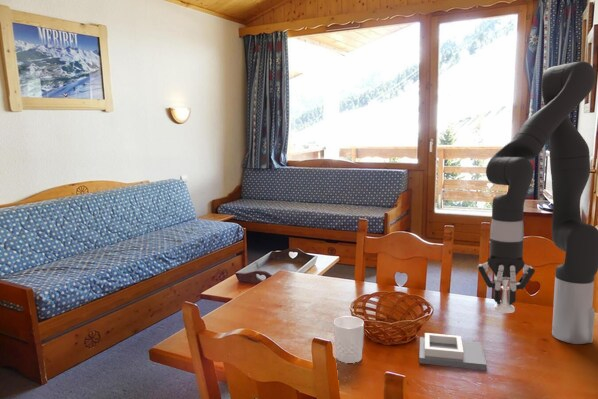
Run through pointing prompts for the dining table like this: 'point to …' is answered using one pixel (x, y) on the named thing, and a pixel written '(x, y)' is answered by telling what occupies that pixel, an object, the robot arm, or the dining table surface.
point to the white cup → (348, 338)
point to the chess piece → (504, 299)
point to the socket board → (451, 352)
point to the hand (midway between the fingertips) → (504, 303)
